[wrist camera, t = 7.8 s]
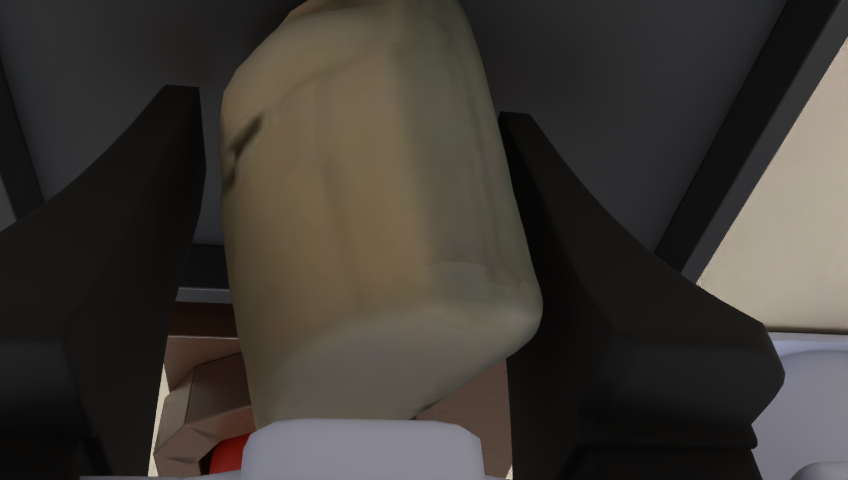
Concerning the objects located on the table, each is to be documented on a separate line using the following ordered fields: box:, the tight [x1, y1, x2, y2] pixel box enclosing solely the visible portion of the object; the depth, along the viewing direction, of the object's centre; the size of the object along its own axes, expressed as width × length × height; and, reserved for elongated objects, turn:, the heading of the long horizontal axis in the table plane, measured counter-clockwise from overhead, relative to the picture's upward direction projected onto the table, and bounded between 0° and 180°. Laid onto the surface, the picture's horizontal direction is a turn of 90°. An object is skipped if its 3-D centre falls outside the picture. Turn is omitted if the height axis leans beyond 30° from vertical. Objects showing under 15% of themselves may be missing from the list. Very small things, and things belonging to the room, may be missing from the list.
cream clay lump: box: [218, 0, 543, 430], centre depth 14 cm, size 6×5×8 cm
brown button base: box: [153, 301, 512, 479], centre depth 23 cm, size 11×8×4 cm
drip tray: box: [0, 0, 848, 304], centre depth 16 cm, size 17×12×2 cm
